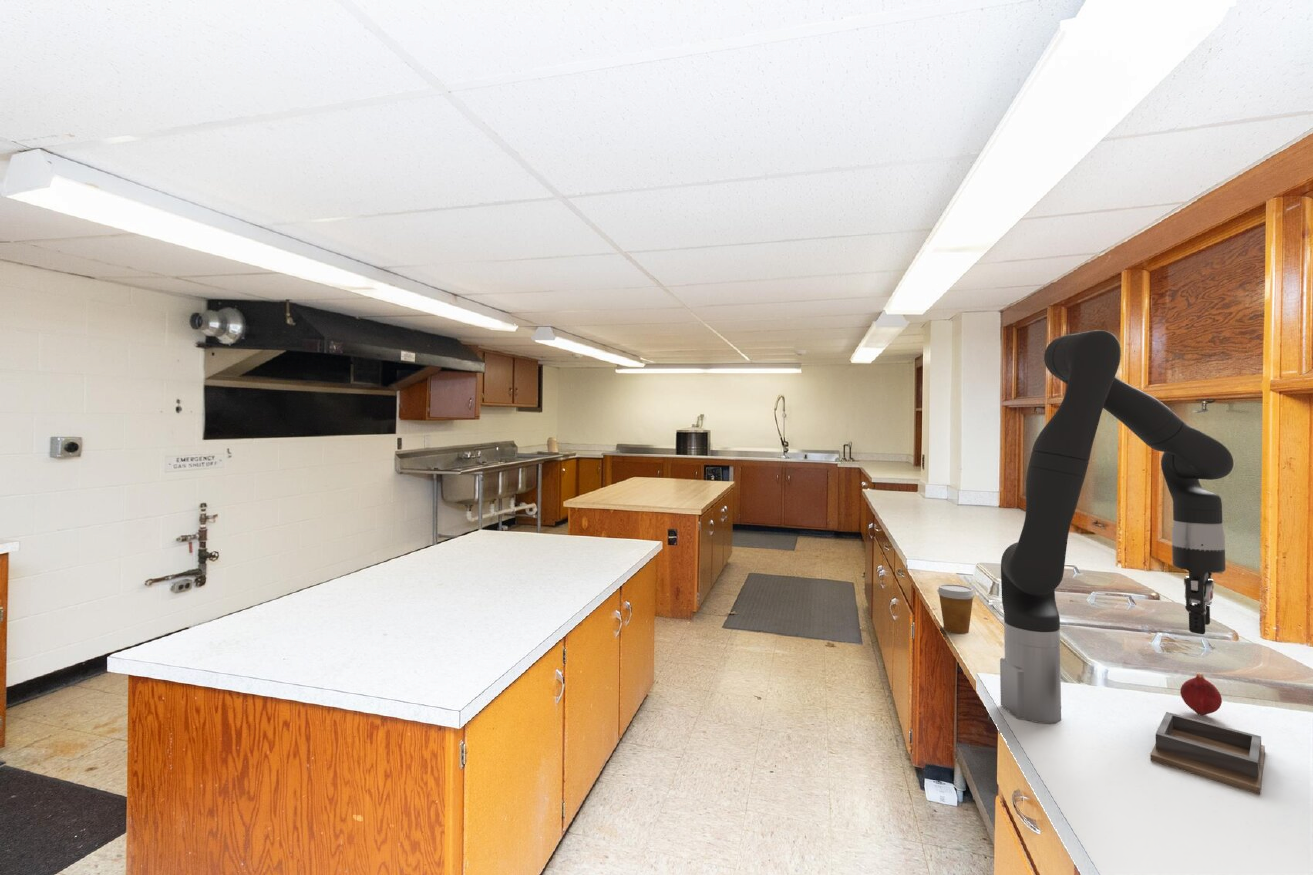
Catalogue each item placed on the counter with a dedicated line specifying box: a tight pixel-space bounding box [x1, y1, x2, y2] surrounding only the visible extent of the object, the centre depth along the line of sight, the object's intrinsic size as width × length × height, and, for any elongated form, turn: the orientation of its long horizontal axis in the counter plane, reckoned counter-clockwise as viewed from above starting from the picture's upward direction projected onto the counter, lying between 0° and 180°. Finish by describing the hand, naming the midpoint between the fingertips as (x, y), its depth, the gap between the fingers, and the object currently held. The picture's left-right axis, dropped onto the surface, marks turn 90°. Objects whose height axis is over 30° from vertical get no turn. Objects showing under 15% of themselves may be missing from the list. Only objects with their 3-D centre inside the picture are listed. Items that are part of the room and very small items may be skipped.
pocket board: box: [1149, 711, 1266, 795], centre depth 97 cm, size 18×13×4 cm
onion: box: [1179, 672, 1223, 716], centre depth 111 cm, size 6×6×8 cm
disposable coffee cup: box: [936, 583, 976, 634], centre depth 163 cm, size 10×10×12 cm
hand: (1199, 628), depth 111 cm, fingers open, 8 cm apart
